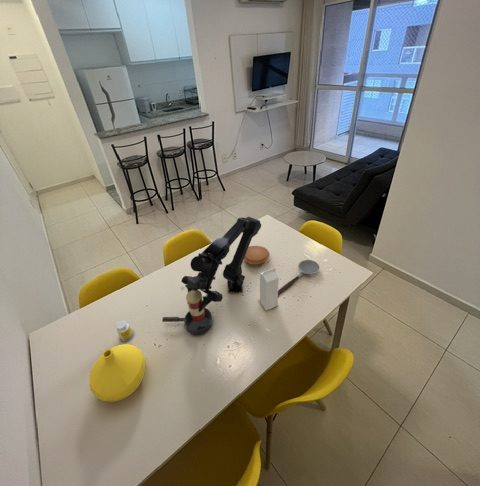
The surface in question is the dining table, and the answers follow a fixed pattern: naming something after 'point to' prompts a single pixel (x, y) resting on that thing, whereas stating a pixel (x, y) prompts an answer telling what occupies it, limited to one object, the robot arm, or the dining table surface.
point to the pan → (198, 324)
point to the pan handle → (172, 319)
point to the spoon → (302, 272)
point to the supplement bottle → (124, 330)
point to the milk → (269, 288)
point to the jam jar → (195, 305)
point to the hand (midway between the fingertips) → (193, 307)
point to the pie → (256, 255)
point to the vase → (117, 372)
